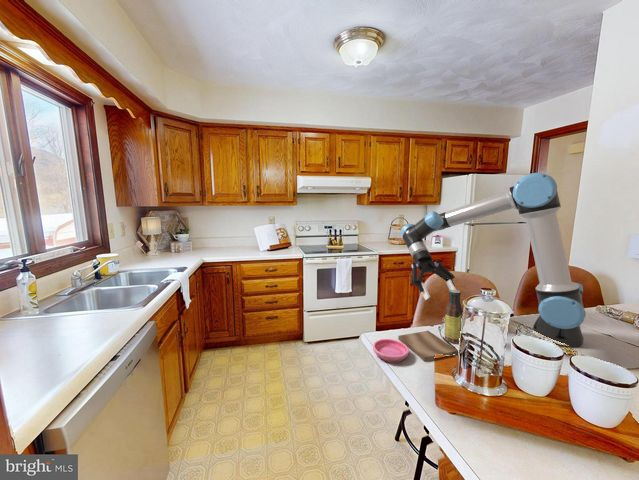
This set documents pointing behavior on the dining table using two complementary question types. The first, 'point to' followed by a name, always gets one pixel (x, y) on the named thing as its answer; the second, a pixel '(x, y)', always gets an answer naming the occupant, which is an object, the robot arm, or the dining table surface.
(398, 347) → the saucer
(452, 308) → the sauce bottle
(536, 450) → the dining table surface
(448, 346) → the walnut serving board
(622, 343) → the dining table surface
